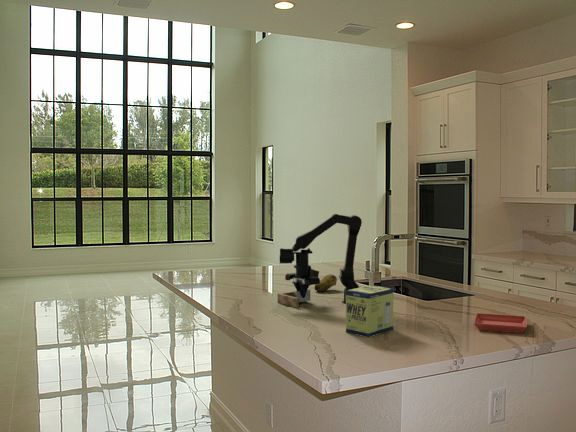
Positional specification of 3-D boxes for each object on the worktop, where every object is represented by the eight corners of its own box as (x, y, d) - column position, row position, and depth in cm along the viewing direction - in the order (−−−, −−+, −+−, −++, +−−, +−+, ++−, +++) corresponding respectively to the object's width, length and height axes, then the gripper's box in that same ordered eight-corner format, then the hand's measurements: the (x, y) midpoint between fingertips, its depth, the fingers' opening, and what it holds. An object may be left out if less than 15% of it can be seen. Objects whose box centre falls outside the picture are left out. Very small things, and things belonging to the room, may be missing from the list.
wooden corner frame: (322, 303, 261) (322, 294, 261) (296, 307, 252) (296, 298, 252) (302, 298, 272) (302, 290, 272) (277, 302, 263) (277, 293, 263)
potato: (310, 290, 293) (310, 274, 293) (333, 288, 297) (333, 273, 297) (316, 293, 285) (316, 277, 285) (340, 291, 289) (340, 275, 289)
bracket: (296, 302, 258) (296, 291, 258) (288, 300, 263) (288, 289, 262) (310, 300, 263) (310, 289, 263) (302, 298, 267) (302, 287, 267)
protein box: (345, 332, 210) (345, 290, 209) (371, 325, 220) (371, 284, 220) (368, 337, 202) (368, 293, 201) (394, 329, 213) (394, 287, 212)
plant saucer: (476, 320, 227) (476, 312, 227) (526, 324, 221) (526, 315, 220) (473, 331, 210) (473, 322, 210) (527, 336, 204) (527, 326, 204)
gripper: (329, 263, 257) (329, 298, 258) (303, 259, 272) (303, 292, 273) (309, 266, 251) (310, 301, 252) (284, 261, 266) (284, 295, 267)
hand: (302, 297), depth 261 cm, fingers closed on bracket
